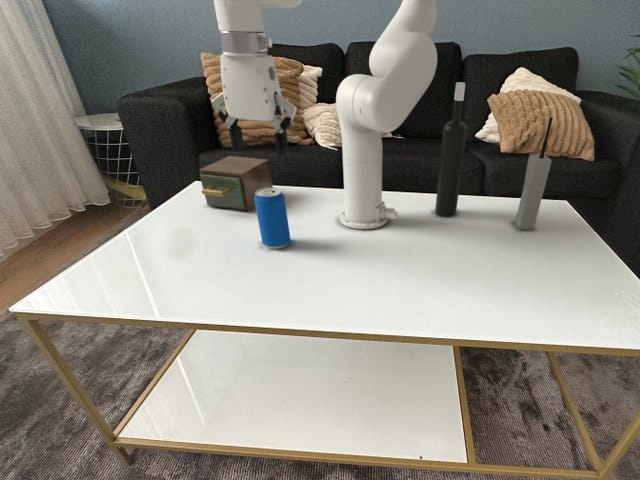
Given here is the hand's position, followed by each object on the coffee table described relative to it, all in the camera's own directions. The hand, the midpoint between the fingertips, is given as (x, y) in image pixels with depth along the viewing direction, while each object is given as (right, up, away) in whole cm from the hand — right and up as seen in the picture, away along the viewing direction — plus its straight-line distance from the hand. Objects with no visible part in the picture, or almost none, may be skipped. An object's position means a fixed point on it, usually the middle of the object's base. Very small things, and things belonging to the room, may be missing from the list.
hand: (260, 151), depth 82 cm
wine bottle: (+42, -2, +30) cm, 52 cm away
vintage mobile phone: (+62, -7, +24) cm, 66 cm away
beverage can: (0, -15, +13) cm, 20 cm away
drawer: (-17, +2, +32) cm, 36 cm away
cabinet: (-16, +4, +35) cm, 39 cm away
